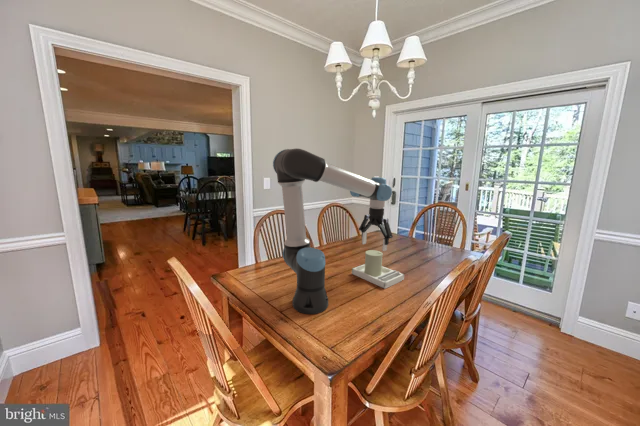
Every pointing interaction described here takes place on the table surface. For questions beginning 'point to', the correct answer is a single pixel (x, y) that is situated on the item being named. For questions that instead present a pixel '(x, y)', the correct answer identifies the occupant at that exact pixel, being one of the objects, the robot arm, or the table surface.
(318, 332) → the table surface
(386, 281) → the rack
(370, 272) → the can
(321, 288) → the robot arm
